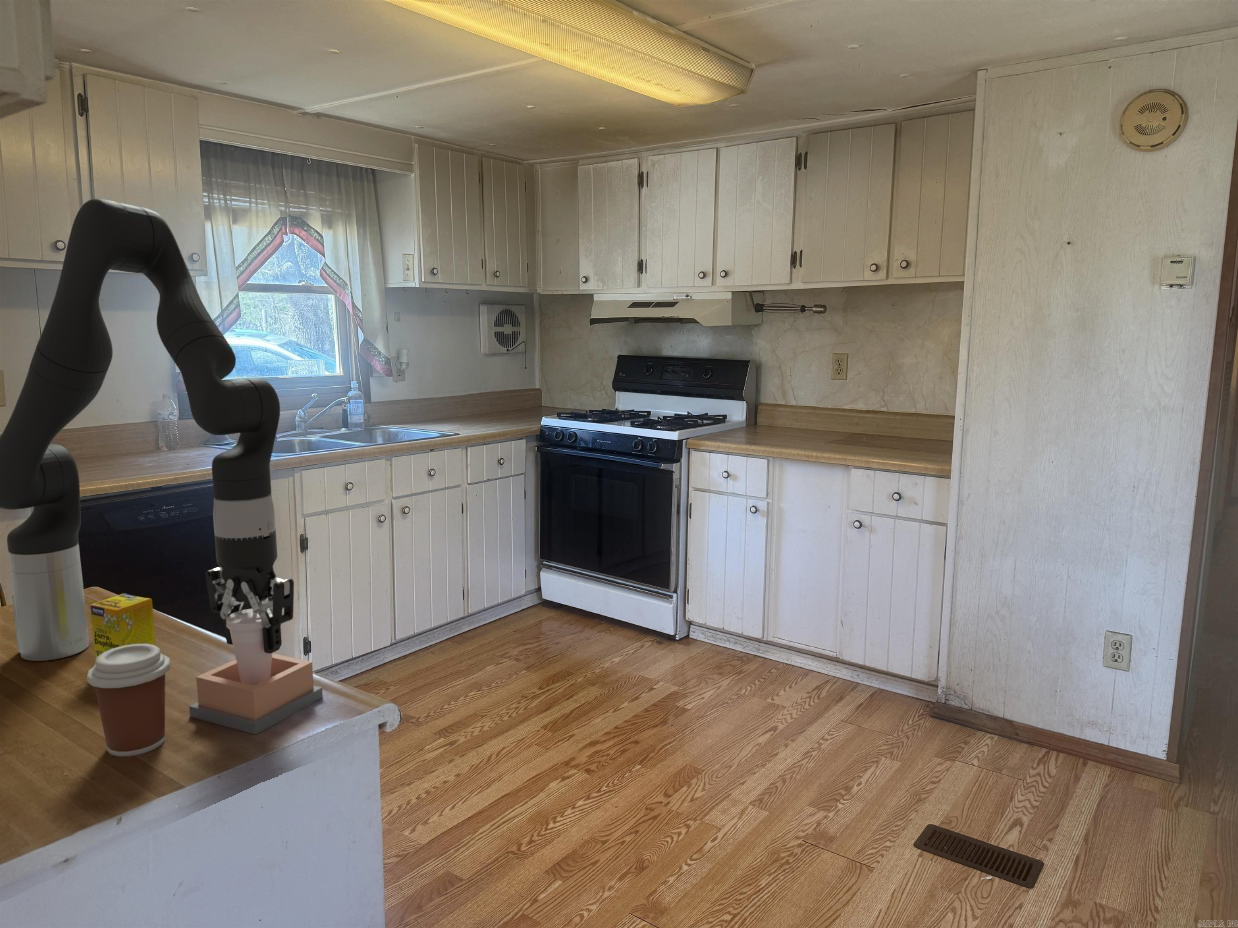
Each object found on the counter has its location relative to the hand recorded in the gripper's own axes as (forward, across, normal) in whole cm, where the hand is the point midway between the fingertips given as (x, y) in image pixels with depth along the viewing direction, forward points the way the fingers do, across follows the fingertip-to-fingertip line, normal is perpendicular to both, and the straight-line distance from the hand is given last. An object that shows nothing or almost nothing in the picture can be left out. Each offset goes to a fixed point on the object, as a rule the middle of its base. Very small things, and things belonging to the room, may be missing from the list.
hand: (253, 646), depth 116 cm
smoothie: (+5, 0, 0) cm, 5 cm away
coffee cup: (+9, -6, -14) cm, 18 cm away
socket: (+9, 0, 0) cm, 9 cm away
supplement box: (+9, -28, +1) cm, 29 cm away
